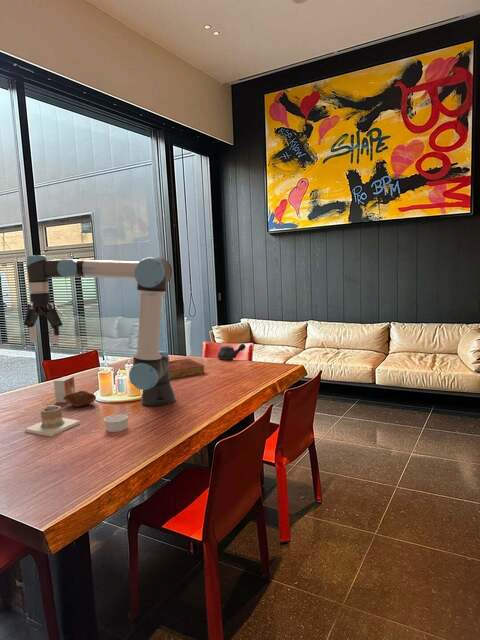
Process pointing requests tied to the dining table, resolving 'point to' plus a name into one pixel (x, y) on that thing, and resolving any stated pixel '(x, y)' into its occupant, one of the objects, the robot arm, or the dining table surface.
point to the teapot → (229, 352)
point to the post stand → (55, 429)
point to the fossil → (80, 398)
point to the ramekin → (116, 422)
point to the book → (185, 368)
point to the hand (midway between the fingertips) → (44, 342)
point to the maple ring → (51, 417)
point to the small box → (63, 388)
